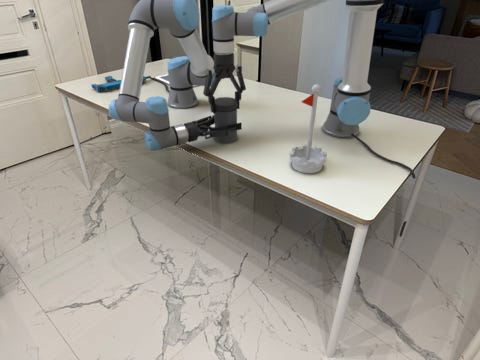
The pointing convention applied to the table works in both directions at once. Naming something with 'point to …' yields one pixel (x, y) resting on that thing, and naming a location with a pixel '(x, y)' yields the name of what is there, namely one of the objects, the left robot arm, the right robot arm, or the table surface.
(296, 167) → the flag stand
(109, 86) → the submachine gun
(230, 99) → the lid
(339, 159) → the table surface
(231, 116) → the jar
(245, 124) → the table surface
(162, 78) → the tablet
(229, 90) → the table surface
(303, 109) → the table surface
